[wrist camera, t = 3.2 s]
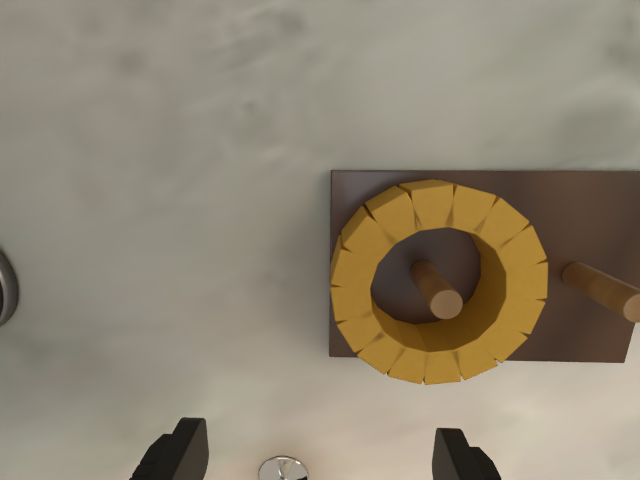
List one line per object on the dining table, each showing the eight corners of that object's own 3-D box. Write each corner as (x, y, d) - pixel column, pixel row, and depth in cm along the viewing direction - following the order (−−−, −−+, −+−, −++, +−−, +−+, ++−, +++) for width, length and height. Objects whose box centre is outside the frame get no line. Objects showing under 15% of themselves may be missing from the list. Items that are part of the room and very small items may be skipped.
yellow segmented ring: (296, 287, 24) (290, 310, 21) (413, 139, 21) (429, 137, 18) (429, 381, 26) (444, 417, 22) (555, 256, 23) (595, 275, 20)
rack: (329, 349, 27) (328, 407, 21) (331, 169, 23) (331, 176, 17) (613, 355, 26) (698, 416, 20) (661, 171, 22) (782, 178, 16)
